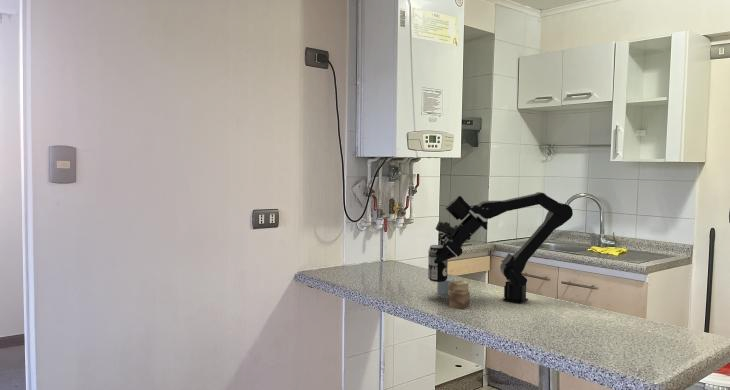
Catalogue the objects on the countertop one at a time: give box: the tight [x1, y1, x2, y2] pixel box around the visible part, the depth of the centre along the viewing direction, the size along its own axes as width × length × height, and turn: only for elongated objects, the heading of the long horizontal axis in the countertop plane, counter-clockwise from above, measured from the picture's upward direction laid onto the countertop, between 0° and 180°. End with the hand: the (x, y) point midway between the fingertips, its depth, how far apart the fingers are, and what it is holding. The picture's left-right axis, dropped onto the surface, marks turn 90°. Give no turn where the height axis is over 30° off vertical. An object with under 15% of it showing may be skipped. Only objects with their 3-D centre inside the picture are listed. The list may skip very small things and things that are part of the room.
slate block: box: [437, 277, 455, 296], centre depth 192 cm, size 5×5×5 cm
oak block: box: [448, 279, 470, 296], centre depth 187 cm, size 5×5×5 cm
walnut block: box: [448, 289, 471, 310], centre depth 173 cm, size 5×5×5 cm
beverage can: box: [427, 244, 449, 283], centre depth 182 cm, size 7×7×12 cm
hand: (433, 261), depth 182 cm, fingers closed on beverage can, 6 cm apart
